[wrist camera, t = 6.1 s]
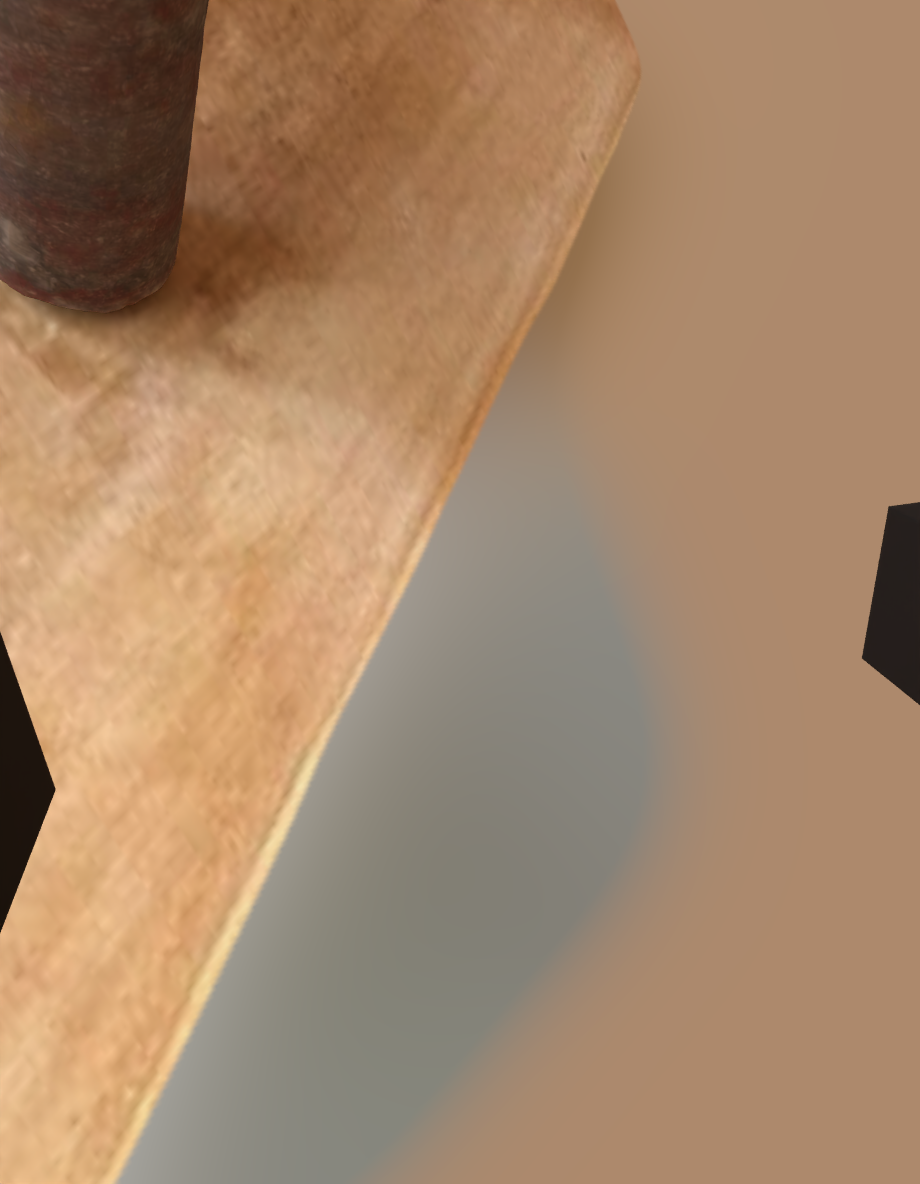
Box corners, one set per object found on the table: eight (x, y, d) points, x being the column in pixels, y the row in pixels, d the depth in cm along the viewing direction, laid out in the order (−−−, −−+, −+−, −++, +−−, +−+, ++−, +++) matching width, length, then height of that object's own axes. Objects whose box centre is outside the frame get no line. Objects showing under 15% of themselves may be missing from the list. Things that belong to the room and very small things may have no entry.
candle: (183, 343, 33) (275, -254, 16) (-27, 329, 30) (-198, -429, 13) (168, 187, 35) (235, -495, 18) (-31, 159, 32) (-183, -694, 15)
